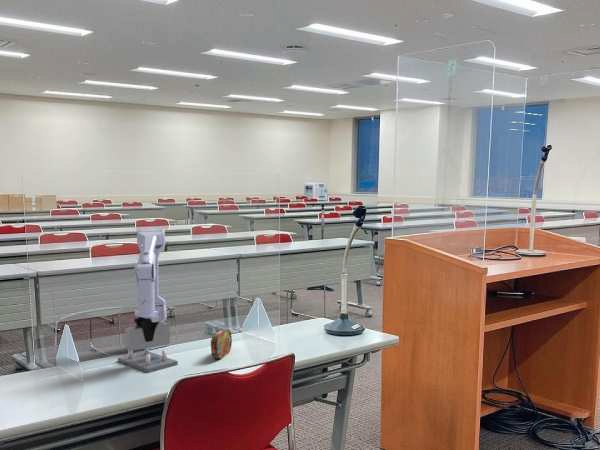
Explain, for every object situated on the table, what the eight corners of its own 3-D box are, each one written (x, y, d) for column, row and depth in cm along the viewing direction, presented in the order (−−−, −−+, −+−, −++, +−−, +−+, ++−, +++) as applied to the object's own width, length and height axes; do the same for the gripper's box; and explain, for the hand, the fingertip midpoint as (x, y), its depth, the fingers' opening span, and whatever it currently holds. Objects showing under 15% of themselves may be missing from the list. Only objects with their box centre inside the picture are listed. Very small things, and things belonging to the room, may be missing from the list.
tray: (117, 361, 181) (117, 348, 181) (146, 354, 189) (146, 341, 189) (148, 372, 168) (147, 358, 168) (177, 364, 176) (177, 351, 176)
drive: (125, 348, 175) (125, 327, 175) (164, 342, 184) (164, 322, 184) (129, 351, 173) (129, 329, 173) (169, 344, 182) (169, 323, 182)
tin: (218, 361, 179) (217, 337, 179) (209, 361, 180) (208, 336, 179) (232, 349, 194) (232, 326, 193) (224, 349, 194) (224, 326, 194)
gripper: (166, 301, 175) (167, 342, 175) (147, 295, 186) (148, 334, 186) (146, 303, 170) (147, 345, 171) (128, 298, 181) (129, 337, 182)
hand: (146, 340), depth 178 cm, fingers closed on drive, 3 cm apart
